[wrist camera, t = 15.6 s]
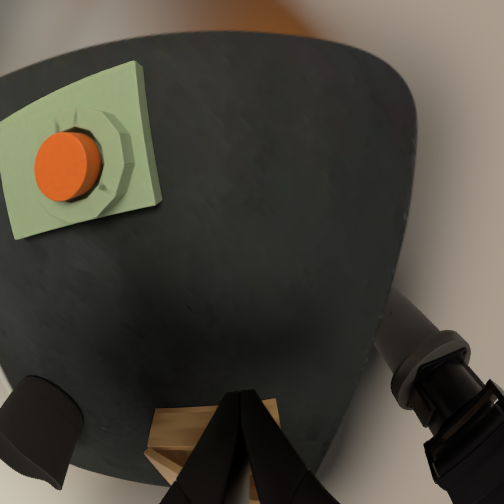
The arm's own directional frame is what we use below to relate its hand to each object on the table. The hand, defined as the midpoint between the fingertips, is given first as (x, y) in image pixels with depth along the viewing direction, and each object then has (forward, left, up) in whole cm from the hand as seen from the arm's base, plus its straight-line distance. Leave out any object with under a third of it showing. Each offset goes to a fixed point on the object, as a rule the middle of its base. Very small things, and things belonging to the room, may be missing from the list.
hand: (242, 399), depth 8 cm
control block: (+10, -9, -12) cm, 18 cm away
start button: (+8, -8, -9) cm, 14 cm away
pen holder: (+24, +14, -12) cm, 30 cm away
